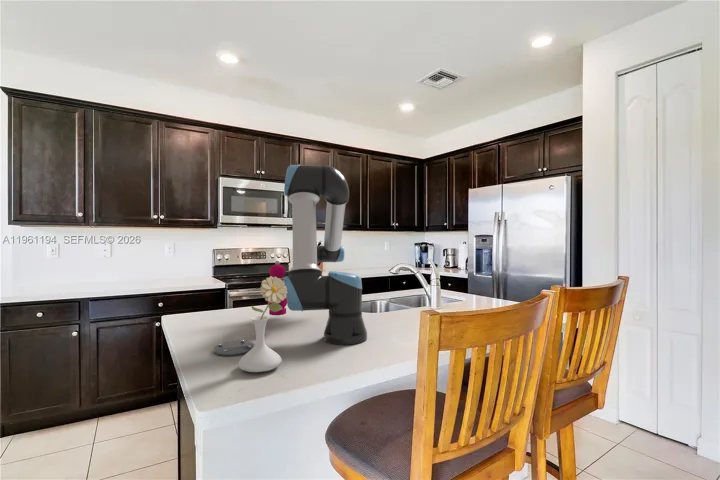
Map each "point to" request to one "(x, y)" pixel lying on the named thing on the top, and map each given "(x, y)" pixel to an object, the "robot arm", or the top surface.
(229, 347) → the flange plate
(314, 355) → the top surface
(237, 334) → the top surface
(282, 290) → the flower in vase
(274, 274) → the pepper mill
